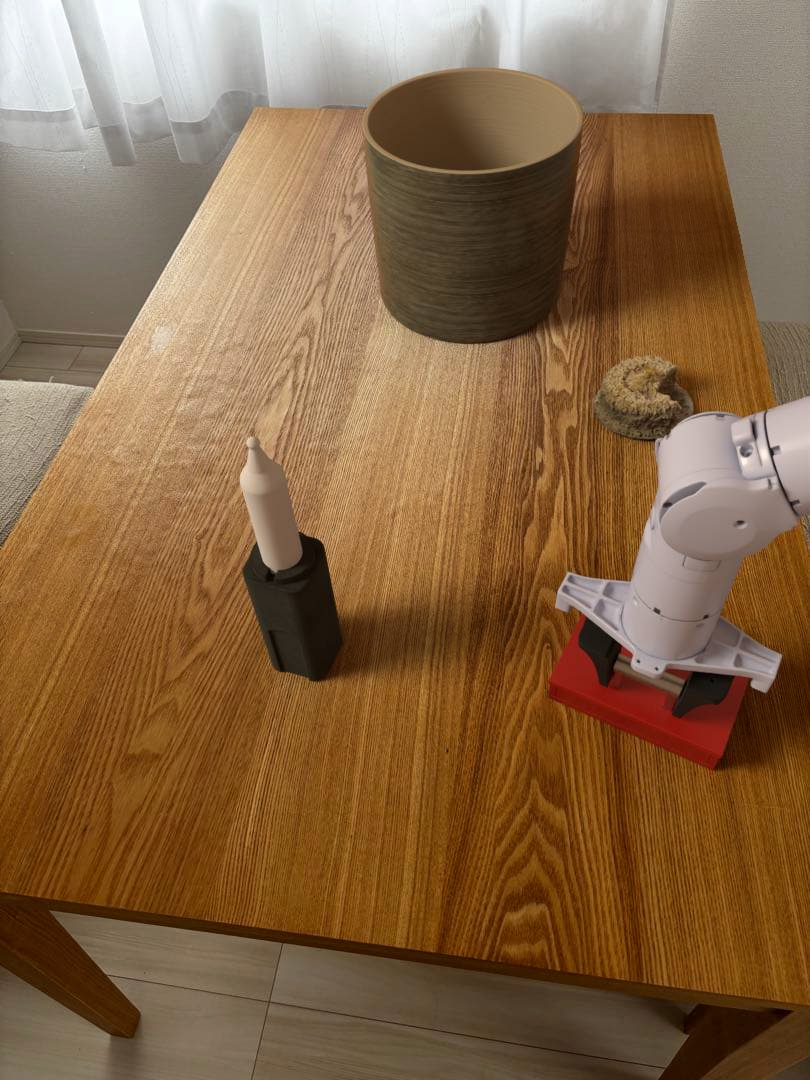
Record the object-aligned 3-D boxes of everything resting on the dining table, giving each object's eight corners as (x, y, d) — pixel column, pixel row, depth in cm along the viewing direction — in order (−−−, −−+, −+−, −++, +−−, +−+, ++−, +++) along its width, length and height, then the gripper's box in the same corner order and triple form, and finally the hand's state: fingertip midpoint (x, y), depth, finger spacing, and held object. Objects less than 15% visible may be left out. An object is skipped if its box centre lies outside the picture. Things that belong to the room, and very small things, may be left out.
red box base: (712, 771, 64) (722, 753, 62) (547, 697, 69) (550, 679, 66) (748, 669, 69) (758, 649, 67) (592, 607, 74) (596, 586, 71)
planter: (356, 255, 108) (339, 88, 92) (524, 220, 111) (535, 53, 95) (406, 365, 94) (395, 192, 79) (595, 322, 97) (621, 147, 82)
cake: (598, 447, 86) (600, 407, 82) (588, 381, 92) (589, 340, 88) (701, 440, 85) (709, 398, 81) (684, 373, 91) (690, 332, 87)
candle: (346, 634, 73) (306, 418, 54) (324, 685, 70) (272, 476, 51) (292, 619, 74) (233, 402, 55) (267, 668, 72) (195, 458, 52)
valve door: (720, 759, 62) (735, 733, 58) (548, 683, 66) (552, 655, 63) (759, 649, 67) (774, 619, 64) (597, 586, 71) (603, 555, 68)
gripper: (544, 586, 54) (530, 692, 64) (783, 682, 49) (725, 779, 59) (586, 509, 57) (566, 621, 68) (813, 590, 52) (753, 697, 63)
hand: (642, 690), depth 64 cm, fingers closed on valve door, 5 cm apart
